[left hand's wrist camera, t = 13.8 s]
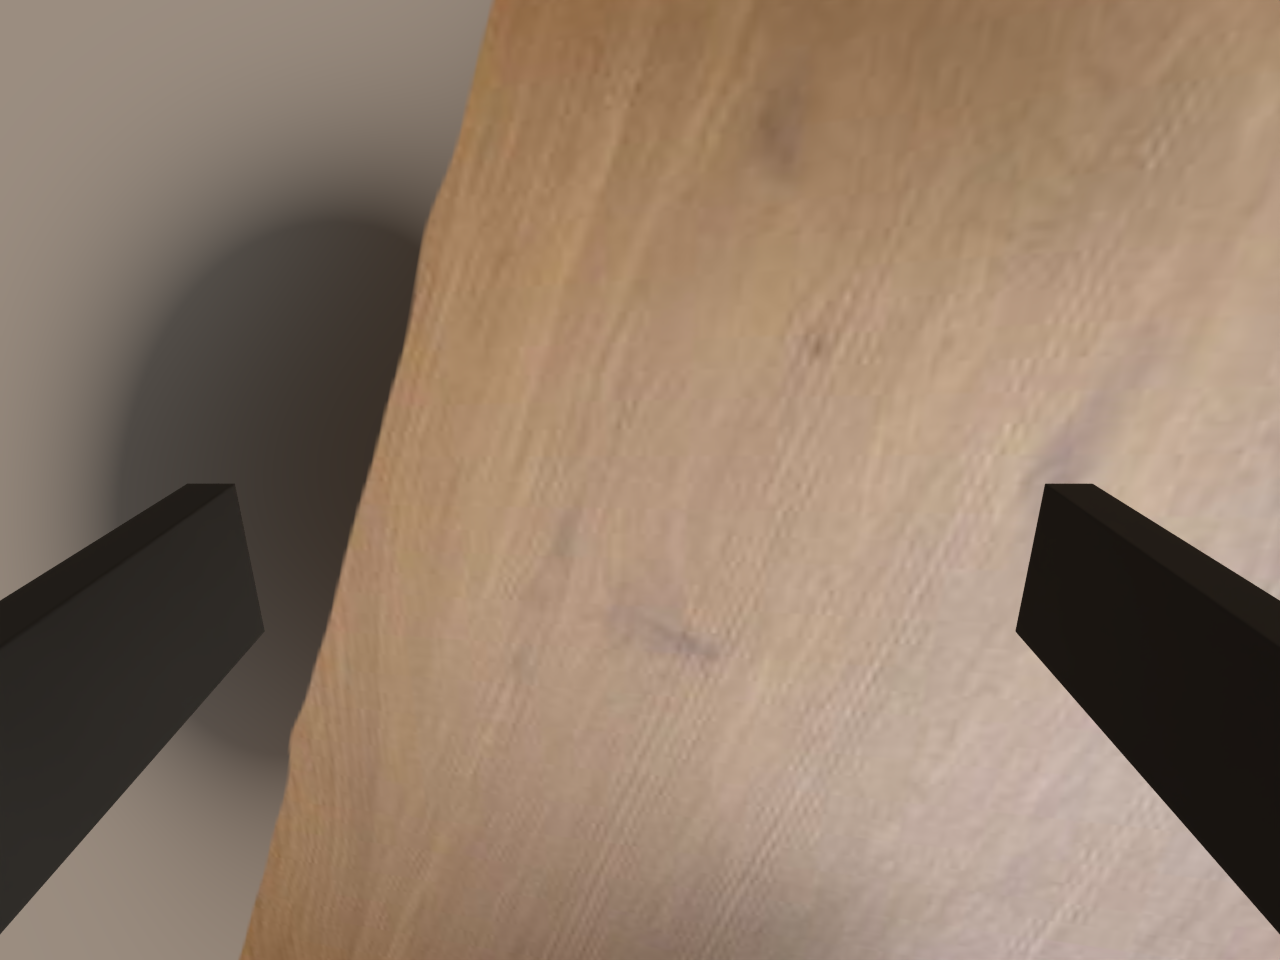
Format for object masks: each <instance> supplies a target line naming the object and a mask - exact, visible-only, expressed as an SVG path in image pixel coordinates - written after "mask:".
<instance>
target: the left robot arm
mask: <svg viewBox="0 0 1280 960" xmlns="http://www.w3.org/2000/svg"><path fill="white" fill-rule="evenodd" d="M263 632H264V627H263V622H262V617H261V612H260V607H259V602H258V597H257V592H256V587H255V582H254V577H253V572H252V567H251V562H250V557H249V552H248V547H247V542H246V537H245V532H244V527H243V522H242V517H241V512H240V507H239V502H238V497H237V493H236V487H235V484H186V485H185V486H183V487H182V488H180V489H178V490H177V491H175V492H174V493H172V494H170V495H169V496H167V497H166V498H164V499H162V500H161V501H159V502H157V503H156V504H154V505H153V506H151V507H150V508H148V509H146V510H145V511H143V512H141V513H140V514H138V515H137V516H135V517H133V518H132V519H130V520H129V521H127V522H126V523H124V524H122V525H121V526H119V527H118V528H116V529H114V530H113V531H111V532H109V533H108V534H106V535H105V536H103V537H101V538H100V539H98V540H97V541H95V542H93V543H92V544H90V545H89V546H87V547H85V548H84V549H82V550H81V551H79V552H77V553H76V554H74V555H73V556H71V557H69V558H68V559H66V560H65V561H63V562H61V563H60V564H58V565H57V566H55V567H53V568H52V569H50V570H49V571H47V572H45V573H44V574H42V575H41V576H39V577H37V578H36V579H34V580H33V581H31V582H29V583H28V584H26V585H25V586H23V587H21V588H20V589H18V590H17V591H15V592H13V593H12V594H10V595H9V596H7V597H5V598H4V599H2V600H1V601H0V934H1V933H2V931H3V930H4V929H5V928H6V927H7V926H8V925H9V923H10V922H11V921H12V920H13V919H14V918H15V916H16V915H17V914H18V913H19V912H20V911H21V910H22V909H23V907H24V906H25V905H26V904H27V903H28V902H29V900H30V899H31V898H32V897H33V896H34V895H35V894H36V892H37V891H38V890H39V889H40V888H41V887H42V886H43V884H44V883H45V882H46V881H47V880H48V879H49V878H50V876H51V875H52V874H53V873H54V872H55V871H56V870H57V868H58V867H59V866H60V865H61V864H62V863H63V862H64V860H65V859H66V858H67V857H68V856H69V855H70V854H71V852H72V851H73V850H74V849H75V848H76V847H77V846H78V844H79V843H80V842H81V841H82V840H83V839H84V838H85V836H86V835H87V834H88V833H89V832H90V831H91V830H92V828H93V827H94V826H95V825H96V824H97V823H98V821H99V820H100V819H101V818H102V817H103V816H104V815H105V813H106V812H107V811H108V810H109V809H110V808H111V807H112V805H113V804H114V803H115V802H116V801H117V800H118V799H119V797H120V796H121V795H122V794H123V793H124V792H125V791H126V789H127V788H128V787H129V786H130V785H131V784H132V783H133V781H134V780H135V779H136V778H137V777H138V776H139V774H140V773H141V772H142V771H143V770H144V769H145V768H146V766H147V765H148V764H149V763H150V762H151V761H152V760H153V758H154V757H155V756H156V755H157V754H158V753H159V752H160V750H161V749H162V748H163V747H164V746H165V745H166V744H167V742H168V741H169V740H170V739H171V738H172V737H173V736H174V734H175V733H176V732H177V731H178V730H179V729H180V728H181V726H182V725H183V724H184V723H185V722H186V721H187V719H188V718H189V717H190V716H191V715H192V714H193V713H194V712H195V710H196V709H197V708H198V707H199V706H200V705H201V703H202V702H203V701H204V700H205V699H206V698H207V697H208V695H209V694H210V693H211V692H212V691H213V690H214V689H215V687H216V686H217V685H218V684H219V683H220V682H221V681H222V679H223V678H224V677H225V676H226V675H227V674H228V673H229V671H230V670H231V669H232V668H233V667H234V666H235V665H236V663H237V662H238V661H239V660H240V659H241V658H242V656H243V655H244V654H245V653H246V652H247V651H248V650H249V649H250V647H251V646H252V645H253V644H254V643H255V642H256V641H257V639H258V638H259V637H260V636H261V635H262V634H263ZM1016 632H1017V634H1018V635H1019V636H1020V637H1021V638H1022V639H1023V641H1024V642H1025V643H1026V644H1027V645H1028V646H1029V647H1030V649H1031V650H1032V651H1033V652H1034V653H1035V654H1036V655H1037V657H1038V658H1039V659H1040V660H1041V661H1042V662H1043V663H1044V665H1045V666H1046V667H1047V668H1048V669H1049V670H1050V671H1051V673H1052V674H1053V675H1054V676H1055V677H1056V678H1057V679H1058V681H1059V682H1060V683H1061V684H1062V685H1063V686H1064V687H1065V689H1066V690H1067V691H1068V692H1069V693H1070V694H1071V695H1072V697H1073V698H1074V699H1075V700H1076V701H1077V702H1078V704H1079V705H1080V706H1081V707H1082V708H1083V709H1084V710H1085V712H1086V713H1087V714H1088V715H1089V716H1090V717H1091V718H1092V720H1093V721H1094V722H1095V723H1096V724H1097V725H1098V726H1099V728H1100V729H1101V730H1102V731H1103V732H1104V733H1105V734H1106V736H1107V737H1108V738H1109V739H1110V740H1111V741H1112V742H1113V744H1114V745H1115V746H1116V747H1117V748H1118V749H1119V750H1120V752H1121V753H1122V754H1123V755H1124V756H1125V757H1126V758H1127V760H1128V761H1129V762H1130V763H1131V764H1132V765H1133V767H1134V768H1135V769H1136V770H1137V771H1138V772H1139V773H1140V775H1141V776H1142V777H1143V778H1144V779H1145V780H1146V781H1147V783H1148V784H1149V785H1150V786H1151V787H1152V788H1153V789H1154V791H1155V792H1156V793H1157V794H1158V795H1159V796H1160V797H1161V799H1162V800H1163V801H1164V802H1165V803H1166V804H1167V805H1168V807H1169V808H1170V809H1171V810H1172V811H1173V812H1174V813H1175V815H1176V816H1177V817H1178V818H1179V819H1180V820H1181V821H1182V823H1183V824H1184V825H1185V826H1186V827H1187V828H1188V830H1189V831H1190V832H1191V833H1192V834H1193V835H1194V836H1195V838H1196V839H1197V840H1198V841H1199V842H1200V843H1201V844H1202V846H1203V847H1204V848H1205V849H1206V850H1207V851H1208V852H1209V854H1210V855H1211V856H1212V857H1213V858H1214V859H1215V860H1216V862H1217V863H1218V864H1219V865H1220V866H1221V867H1222V868H1223V870H1224V871H1225V872H1226V873H1227V874H1228V875H1229V876H1230V878H1231V879H1232V880H1233V881H1234V882H1235V883H1236V884H1237V886H1238V887H1239V888H1240V889H1241V890H1242V891H1243V893H1244V894H1245V895H1246V896H1247V897H1248V898H1249V899H1250V901H1251V902H1252V903H1253V904H1254V905H1255V906H1256V907H1257V909H1258V910H1259V911H1260V912H1261V913H1262V914H1263V915H1264V917H1265V918H1266V919H1267V920H1268V921H1269V922H1270V923H1271V925H1272V926H1273V927H1274V928H1275V929H1276V930H1277V931H1278V933H1279V934H1280V601H1279V600H1278V599H1276V598H1275V597H1273V596H1271V595H1270V594H1268V593H1267V592H1265V591H1263V590H1262V589H1260V588H1259V587H1257V586H1255V585H1254V584H1252V583H1251V582H1249V581H1247V580H1246V579H1244V578H1243V577H1241V576H1239V575H1238V574H1236V573H1235V572H1233V571H1231V570H1230V569H1228V568H1227V567H1225V566H1223V565H1222V564H1220V563H1219V562H1217V561H1215V560H1214V559H1212V558H1211V557H1209V556H1207V555H1206V554H1204V553H1203V552H1201V551H1199V550H1198V549H1196V548H1195V547H1193V546H1191V545H1190V544H1188V543H1187V542H1185V541H1183V540H1182V539H1180V538H1179V537H1177V536H1175V535H1174V534H1172V533H1171V532H1169V531H1167V530H1166V529H1164V528H1163V527H1161V526H1159V525H1158V524H1156V523H1155V522H1153V521H1151V520H1150V519H1148V518H1147V517H1145V516H1143V515H1142V514H1140V513H1139V512H1137V511H1135V510H1134V509H1132V508H1131V507H1129V506H1127V505H1126V504H1124V503H1123V502H1121V501H1119V500H1118V499H1116V498H1114V497H1113V496H1111V495H1110V494H1108V493H1106V492H1105V491H1103V490H1102V489H1100V488H1098V487H1097V486H1095V485H1094V484H1045V487H1044V492H1043V497H1042V502H1041V507H1040V512H1039V517H1038V522H1037V527H1036V532H1035V537H1034V542H1033V547H1032V552H1031V557H1030V562H1029V567H1028V572H1027V577H1026V582H1025V587H1024V592H1023V597H1022V602H1021V607H1020V612H1019V617H1018V622H1017V627H1016Z"/></svg>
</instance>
